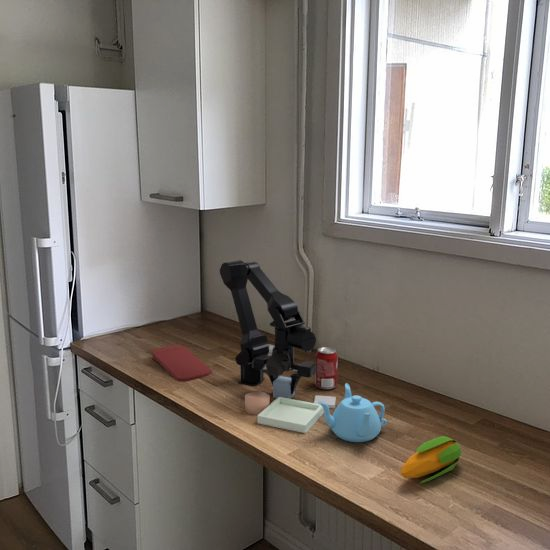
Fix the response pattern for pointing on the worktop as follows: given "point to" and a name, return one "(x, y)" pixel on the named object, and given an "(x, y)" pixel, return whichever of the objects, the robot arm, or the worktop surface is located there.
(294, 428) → the tray
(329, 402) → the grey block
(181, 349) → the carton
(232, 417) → the worktop surface
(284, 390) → the blue block
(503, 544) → the worktop surface
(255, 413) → the pink rounded piece
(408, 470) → the corn
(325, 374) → the soda can
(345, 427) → the teapot
